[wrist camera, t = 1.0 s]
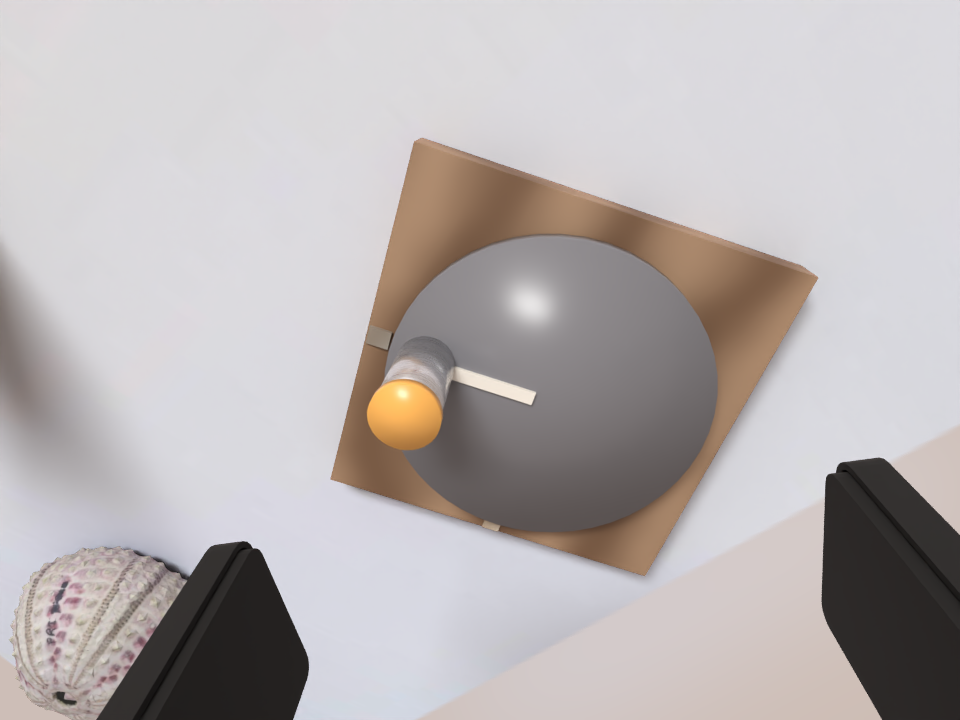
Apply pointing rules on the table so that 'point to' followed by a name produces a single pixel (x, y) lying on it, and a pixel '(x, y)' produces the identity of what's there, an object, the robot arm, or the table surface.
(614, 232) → the dial board
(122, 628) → the sea urchin shell
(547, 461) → the dial
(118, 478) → the table surface
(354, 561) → the table surface
